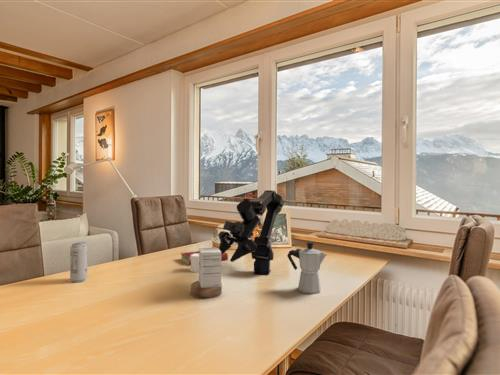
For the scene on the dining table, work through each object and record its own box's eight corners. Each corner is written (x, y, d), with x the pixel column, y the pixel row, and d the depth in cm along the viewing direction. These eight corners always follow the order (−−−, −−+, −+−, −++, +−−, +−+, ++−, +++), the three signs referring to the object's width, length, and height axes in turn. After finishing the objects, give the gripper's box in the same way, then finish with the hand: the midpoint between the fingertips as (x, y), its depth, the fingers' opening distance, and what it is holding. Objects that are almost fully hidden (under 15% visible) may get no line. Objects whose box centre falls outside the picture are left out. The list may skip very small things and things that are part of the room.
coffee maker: (327, 288, 119) (328, 241, 119) (325, 296, 111) (326, 245, 111) (289, 283, 124) (290, 238, 124) (284, 290, 116) (285, 242, 116)
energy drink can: (89, 280, 125) (89, 243, 125) (73, 283, 121) (73, 245, 120) (84, 277, 129) (84, 241, 129) (67, 280, 125) (68, 242, 124)
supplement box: (198, 281, 116) (198, 247, 116) (218, 280, 118) (218, 247, 117) (200, 288, 109) (200, 252, 108) (221, 287, 110) (221, 251, 110)
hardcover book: (228, 261, 160) (228, 252, 159) (188, 266, 149) (188, 257, 148) (217, 256, 170) (218, 248, 170) (180, 260, 159) (180, 252, 159)
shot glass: (202, 272, 137) (202, 257, 137) (187, 271, 139) (187, 256, 138) (207, 268, 144) (207, 253, 144) (193, 267, 145) (193, 252, 145)
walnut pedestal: (225, 289, 117) (225, 281, 117) (215, 300, 106) (215, 291, 106) (197, 286, 119) (197, 278, 119) (185, 296, 109) (185, 288, 109)
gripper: (222, 211, 128) (198, 241, 121) (251, 215, 113) (225, 250, 106) (237, 228, 133) (215, 258, 126) (267, 235, 118) (243, 269, 112)
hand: (223, 258), depth 117 cm, fingers open, 9 cm apart
